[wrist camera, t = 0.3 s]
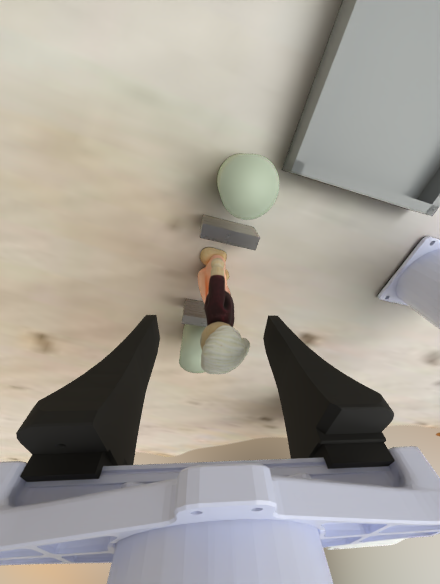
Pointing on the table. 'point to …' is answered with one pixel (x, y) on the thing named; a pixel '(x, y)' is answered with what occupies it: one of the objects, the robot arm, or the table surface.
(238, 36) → the table surface
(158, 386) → the table surface
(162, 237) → the table surface
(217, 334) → the grandmother figurine
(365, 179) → the tray
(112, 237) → the table surface
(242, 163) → the pale green rounded block
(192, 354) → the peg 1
